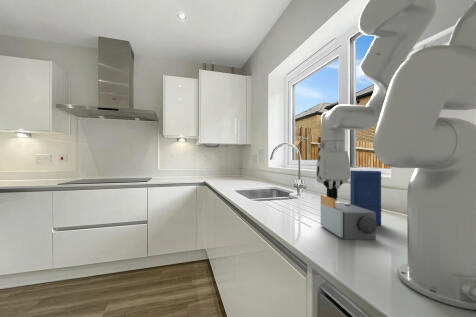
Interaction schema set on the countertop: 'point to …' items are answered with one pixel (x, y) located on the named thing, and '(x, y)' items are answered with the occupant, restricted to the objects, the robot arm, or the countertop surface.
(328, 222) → the side door
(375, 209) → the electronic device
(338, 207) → the camera case
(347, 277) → the countertop surface
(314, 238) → the countertop surface
